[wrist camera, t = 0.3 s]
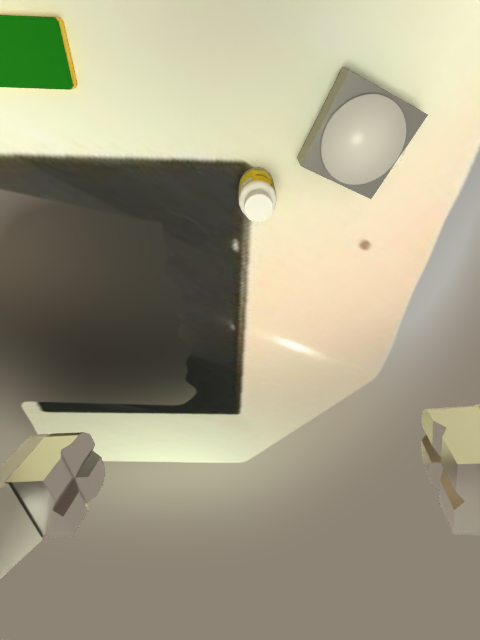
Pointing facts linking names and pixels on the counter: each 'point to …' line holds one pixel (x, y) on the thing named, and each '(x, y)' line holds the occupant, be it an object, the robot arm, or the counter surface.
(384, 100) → the kitchen scale
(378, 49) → the counter surface
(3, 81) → the dish sponge
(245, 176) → the supplement bottle
